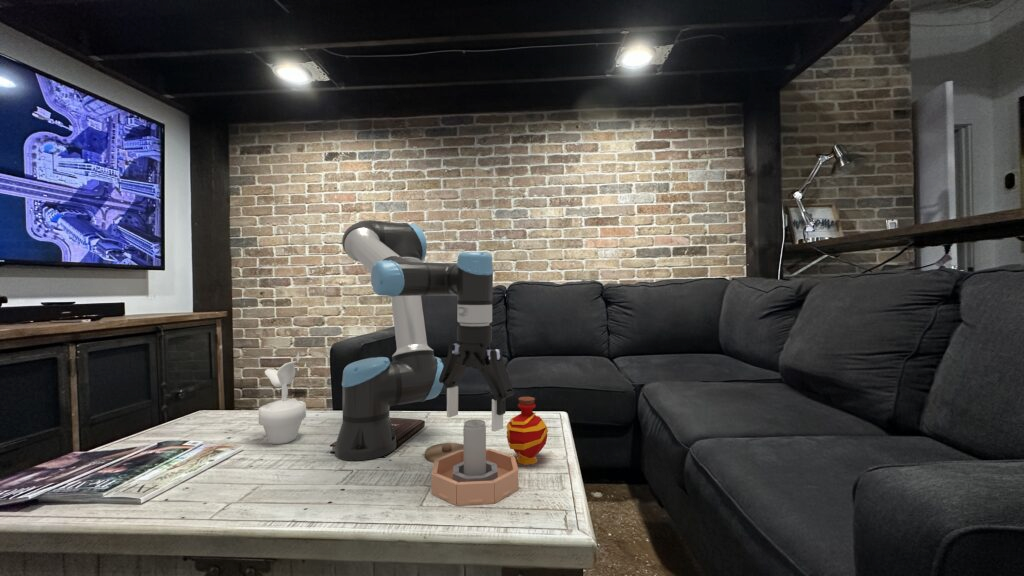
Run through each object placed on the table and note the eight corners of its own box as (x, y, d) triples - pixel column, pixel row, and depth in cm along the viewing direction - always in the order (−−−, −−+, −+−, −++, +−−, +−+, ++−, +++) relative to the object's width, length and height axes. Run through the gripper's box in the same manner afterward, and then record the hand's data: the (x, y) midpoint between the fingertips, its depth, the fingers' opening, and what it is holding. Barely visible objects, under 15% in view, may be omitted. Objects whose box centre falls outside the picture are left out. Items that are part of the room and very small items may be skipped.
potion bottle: (545, 470, 95) (545, 405, 96) (501, 467, 97) (501, 403, 98) (550, 453, 106) (550, 394, 106) (510, 450, 108) (510, 392, 108)
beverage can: (468, 485, 86) (468, 427, 86) (460, 476, 90) (460, 421, 90) (489, 480, 88) (489, 424, 88) (480, 472, 92) (480, 418, 92)
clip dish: (414, 486, 88) (414, 467, 88) (474, 459, 102) (474, 443, 102) (475, 515, 76) (475, 493, 76) (534, 480, 90) (533, 462, 90)
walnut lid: (415, 457, 105) (415, 446, 105) (448, 445, 113) (448, 435, 113) (444, 469, 98) (444, 457, 98) (477, 454, 106) (477, 444, 106)
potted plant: (314, 438, 118) (314, 349, 118) (272, 451, 108) (272, 355, 108) (289, 430, 125) (289, 347, 125) (248, 442, 115) (248, 351, 115)
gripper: (423, 321, 95) (423, 414, 95) (507, 329, 79) (506, 441, 79) (448, 319, 100) (448, 407, 100) (531, 327, 84) (530, 431, 85)
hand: (473, 422), depth 90 cm, fingers open, 13 cm apart
